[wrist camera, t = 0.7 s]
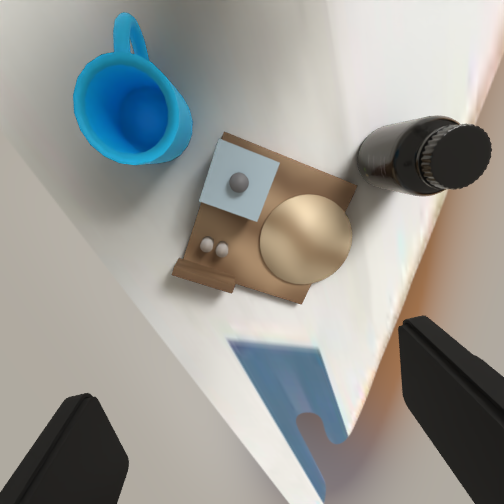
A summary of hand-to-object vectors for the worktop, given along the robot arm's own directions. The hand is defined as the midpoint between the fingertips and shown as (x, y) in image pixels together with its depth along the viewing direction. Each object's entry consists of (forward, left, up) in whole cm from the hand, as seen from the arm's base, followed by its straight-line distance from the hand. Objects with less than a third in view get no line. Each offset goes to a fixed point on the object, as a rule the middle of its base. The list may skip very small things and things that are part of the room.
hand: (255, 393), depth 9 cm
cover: (-4, -2, -25) cm, 26 cm away
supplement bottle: (-12, +13, -27) cm, 33 cm away
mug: (-8, -13, -27) cm, 31 cm away
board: (0, +3, -27) cm, 27 cm away
